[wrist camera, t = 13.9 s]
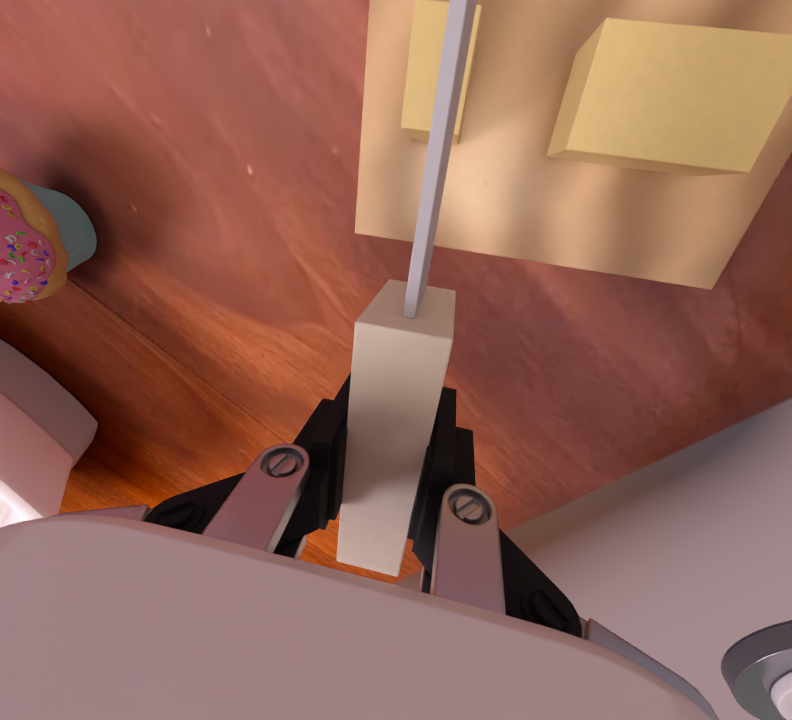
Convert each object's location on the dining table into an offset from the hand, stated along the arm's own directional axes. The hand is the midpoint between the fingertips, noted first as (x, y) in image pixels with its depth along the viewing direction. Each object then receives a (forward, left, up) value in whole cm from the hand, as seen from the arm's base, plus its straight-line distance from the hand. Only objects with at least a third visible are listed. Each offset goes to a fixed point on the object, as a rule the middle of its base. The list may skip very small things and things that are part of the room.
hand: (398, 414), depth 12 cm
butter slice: (+1, -11, -11) cm, 16 cm away
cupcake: (+27, -1, -12) cm, 30 cm away
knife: (0, -5, -1) cm, 5 cm away
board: (-5, -11, -12) cm, 17 cm away
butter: (-8, -11, -11) cm, 17 cm away
